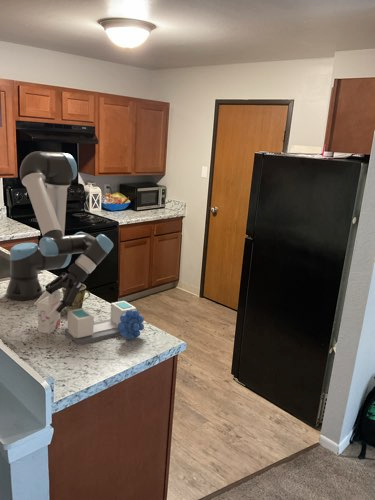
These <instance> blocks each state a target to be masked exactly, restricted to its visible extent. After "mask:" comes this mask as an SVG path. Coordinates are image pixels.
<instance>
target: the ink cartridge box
mask: <svg viewBox="0 0 375 500" xmlns="http://www.w3.org/2000/svg"><path fill="white" fill-rule="evenodd" d="M60 301H61V291H60V289H59V290H57V291H55V292H53V293H52V294H51V295H50V296H48V297H46V298H45V299H43V300H41V301H40V302H38V303H37V304H38V306H37V331H38V333H43V334H51V333H53V331H55V330H56V329H58V328H59V327H60V326H61V313H60V314H59V315H58V316H57V317H56V318H55V319H54V320H52V319H51V318H49V317H48V315H49V313H50V312H51V311H52V310H53V309H54V308H55V307H56V306H57V304H58V303H59V302H60Z"/></svg>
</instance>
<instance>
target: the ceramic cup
mask: <svg viewBox="0 0 375 500" xmlns="http://www.w3.org/2000/svg"><path fill="white" fill-rule="evenodd" d="M81 284H82V285H83V286H82V287H81V288H80V290H79V292H78V294H77V296H76V298H75V300H74V302H73V304H72V306H71V307H69V306H67V307H65V310H66V311H67V312H68V311H71V310H77V309H82V308H83V303H84V302H85V300H87V299H88V298H90V296H91V294H90V293H91V292H90V291H89V290H87V285H85V284H84V283H81ZM61 290H62V295H63V296H64V293H65V290H66V288H64V287H63V288H61ZM86 293H87V294H88V296H86V297H85V294H86Z"/></svg>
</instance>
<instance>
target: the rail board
mask: <svg viewBox="0 0 375 500" xmlns="http://www.w3.org/2000/svg"><path fill="white" fill-rule="evenodd" d="M127 310H132V311H134V310H137V307H135V306H134V305H132V304H130V303H129V302H127V301H126V300H121V301H115V302H111V303H110V318H109V319H105V320H99V321H96V322H95V320H94V319H95V317H94V316H93V315H92V314H91V313H90V312H88V310H86V309H84V308H83V307H82V309H77V310H71V311H67V327H66V328H64V332H63V333H64V334H66V336H67V337H69V338H70V339H71V340H72V341H73V343H75V344H76V345H77V346H81V345H86V344H90V343H94V342H97V341H101V340H102V341H103V340H106V339H109V338H113V337H114V338H115V337H118V336H121V334H120V332H121V330H119V329H118V324H119V323H120V322H121V321H120V316H121V315H126V311H127Z"/></svg>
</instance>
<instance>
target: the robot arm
mask: <svg viewBox="0 0 375 500" xmlns="http://www.w3.org/2000/svg"><path fill="white" fill-rule="evenodd" d="M77 166H78V165H77V162H76V160H75V158H74V157H73V155H71V154H70V153H68V152H67V153H65V152H61V151H60V152H57V151H41V150H39V151H37V150H36V151H33V152H30V153H29V154H27V155H26V156H25V157H24V159H23V160H22V161H21V165H20V167H19V178H20V181H21V184H22V185H23V186H24V187H25V188H26V191H27V194H28V197H29V200H30V202H31V205H32V209H33V211H34V215H35V217H36V220H37V223H38V226H39V229H40V231H41V234H42V238H40V240H39V241H38V243H39V244H37V243H35V242H22V243H19V244H18V243H17V244H15V245H13V246H12V247H11V248H10V249H9V270H10V272H9V273H10V274H9V275H10V276H9V277H10V280H9V283H8V285H7V288H6V290H5V291H6V292H5V293H6V297H7V298H8V299H10V300H13V301H15V300H16V301H28V300H29V301H30V300H35V299H37V300H36V301H34V303H33V304H34V305H35V306H36V307H38V304H37V303H38V302H40V301H41V300H43V299H45V298H46V297H48V296H50V295H51V294H53V293H55V292H56V291H58V290H59V291H60V290H62V288H63V287H64V288H66V290H65V293H64V296H63V297H62V300H61V299H60V302H59V303H58V304H57V306H56V307H55V308H54V309H53V310H52V311H51V312H50V313H49V315H48V317H49V318H51V319H52V320H54V319H55V318H56V317H57V316H58V315H59V314H60V315H61V313H62V311H64V309H66V307H67V306H69V307H71V306H72V304H73V302H74V300H75V298H76V296H77V294H78V292H79V290H80V288H81V287H82V286H83V285H84V284H83V282H85V281H86V279H87V278H88V277H89V274H91V273H92V272H93V271H94V270H95V269H96V267H97V266H98V265H99V264H100V263H102V261H103V260H104V259H105V258H106V257H107V256H108V254H109V253H110V252H111V250H112V249H113V248H114V243H113V241H112V240H111V239H110V238H109V237H107V235H105V234H102V233H100V234H98V235H97V236H96V237H94V236H93V235H91V234H89V233H86V232H83V231H79V232H76V233H75V234H71V235H65V229H66V215H67V214H66V212H67V195H68V194H67V193H68V188H69V187H70V186H71V185H72V181H74V180H76V177H77V175H78V167H77ZM74 254H75V255H76V254H80V255H79V256H78V257H77V259H75V261H74V262H73V263H72V264H71V265H70V266H69V267H68V268H67V270H68V273H67V272H65V271H64V272H62V273H60V275H59V276H57V277H55V279H53V280H52V281H50V282H49V283H48V284H46V285H45V286H44V288H45V291H44V292H43V289H42V285H41V284H40V280H39V274H38V273H39V272H43V271H44V272H45V271H50V270H60V269H64V268H66V267H67V266H68V265H69V264H70V262H71V259H72V255H74ZM82 284H83V285H82Z"/></svg>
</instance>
